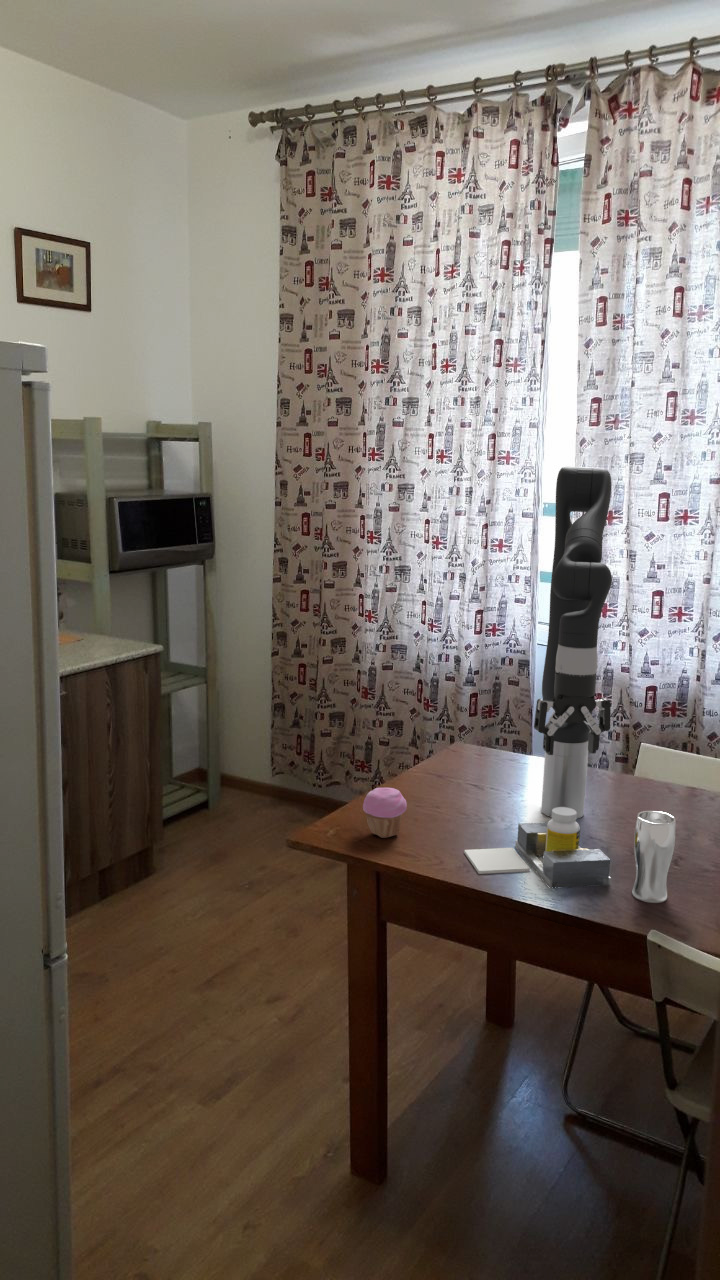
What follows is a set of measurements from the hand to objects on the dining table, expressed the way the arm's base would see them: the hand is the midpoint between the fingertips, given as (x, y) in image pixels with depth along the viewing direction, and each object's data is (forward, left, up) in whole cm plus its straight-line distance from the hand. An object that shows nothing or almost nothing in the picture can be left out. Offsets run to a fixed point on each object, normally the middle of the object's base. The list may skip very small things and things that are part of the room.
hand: (570, 753), depth 188 cm
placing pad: (-3, -12, -23) cm, 26 cm away
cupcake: (-19, -31, -23) cm, 43 cm away
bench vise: (0, 0, -23) cm, 23 cm away
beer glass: (+15, +11, -23) cm, 29 cm away
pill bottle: (0, 0, -23) cm, 23 cm away
